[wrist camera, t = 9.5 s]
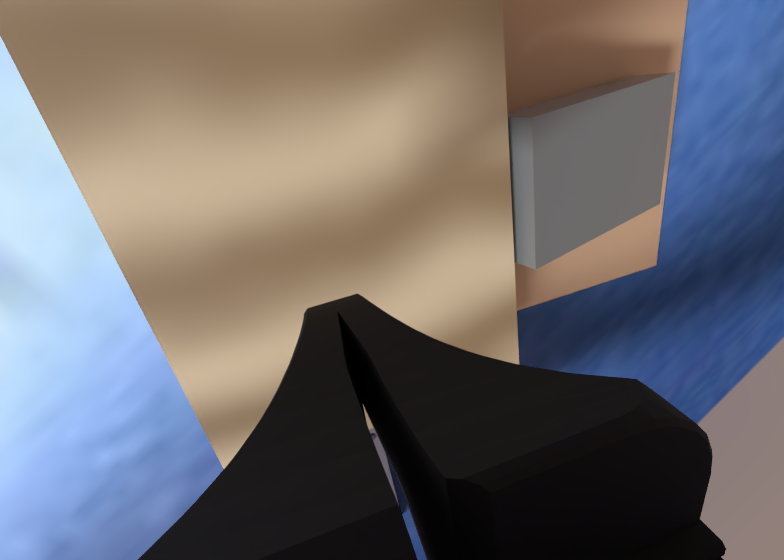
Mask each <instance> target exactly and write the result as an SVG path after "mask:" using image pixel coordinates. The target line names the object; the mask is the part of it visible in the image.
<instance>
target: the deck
mask: <svg viewBox="0 0 784 560" xmlns="http://www.w3.org/2000/svg"><path fill="white" fill-rule="evenodd" d="M0 36H1V38H2V40H3V42H4V44H5V46H6V48H7V50H8V51H9V53H10V55H11V57H12V59H13V61H14V63H15V65H16V67H17V69H18V71H19V73H20V75H21V77H22V79H23V81H24V82H25V84H26V86H27V88H28V90H29V92H30V94H31V96H32V98H33V100H34V102H35V104H36V106H37V108H38V110H39V112H40V114H41V115H42V117H43V119H44V121H45V123H46V125H47V127H48V129H49V131H50V133H51V135H52V137H53V139H54V141H55V143H56V145H57V146H58V148H59V150H60V152H61V154H62V156H63V158H64V160H65V162H66V164H67V166H68V168H69V170H70V172H71V174H72V176H73V177H74V179H75V181H76V183H77V185H78V187H79V189H80V191H81V193H82V195H83V197H84V199H85V201H86V203H87V205H88V207H89V209H90V210H91V212H92V214H93V216H94V218H95V220H96V222H97V224H98V226H99V228H100V230H101V232H102V234H103V236H104V238H105V240H106V241H107V243H108V245H109V247H110V249H111V251H112V253H113V255H114V257H115V259H116V261H117V263H118V265H119V267H120V269H121V271H122V273H123V274H124V276H125V278H126V280H127V282H128V284H129V286H130V288H131V290H132V292H133V294H134V296H135V298H136V300H137V302H138V304H139V305H140V307H141V309H142V311H143V313H144V315H145V317H146V319H147V321H148V323H149V325H150V327H151V329H152V331H153V333H154V335H155V336H156V338H157V340H158V342H159V344H160V346H161V348H162V350H163V352H164V354H165V356H166V358H167V360H168V362H169V364H170V366H171V368H172V369H173V371H174V373H175V375H176V377H177V379H178V381H179V383H180V385H181V387H182V389H183V391H184V393H185V395H186V397H187V399H188V400H189V402H190V404H191V406H192V408H193V410H194V412H195V414H196V416H197V418H198V420H199V422H200V424H201V426H202V428H203V430H204V431H205V433H206V435H207V437H208V439H209V441H210V443H211V445H212V447H213V449H214V451H215V453H216V455H217V457H218V459H219V461H220V463H221V464H222V466H223V468H224V469H225V467H226V466H227V465H228V464H229V463H230V461H231V460H232V459H233V458H234V456H235V455H236V454H237V452H238V451H239V449H240V448H241V447H242V445H243V444H244V442H245V441H246V440H247V438H248V437H249V436H250V434H251V433H252V431H253V430H254V428H255V427H256V425H257V424H258V422H259V421H260V419H261V418H262V416H263V414H264V413H265V411H266V409H267V408H268V406H269V404H270V402H271V400H272V399H273V397H274V395H275V393H276V391H277V389H278V387H279V385H280V383H281V381H282V378H283V376H284V374H285V372H286V370H287V367H288V365H289V363H290V360H291V358H292V355H293V352H294V350H295V347H296V344H297V341H298V338H299V335H300V331H301V327H302V323H303V318H304V313H305V311H306V310H307V308H310V307H313V306H317V305H320V304H324V303H327V302H330V301H334V300H337V299H340V298H344V297H347V296H351V295H354V294H357V293H358V294H359V295H361V296H363V297H364V298H366V299H367V300H368V301H370V302H371V303H373V304H374V305H376V306H377V307H379V308H380V309H382V310H383V311H385V312H386V313H388V314H389V315H391V316H392V317H394V318H396V319H398V320H399V321H401V322H403V323H404V324H406V325H408V326H410V327H412V328H413V329H415V330H417V331H419V332H422V333H424V334H426V335H428V336H430V337H432V338H434V339H437V340H439V341H442V342H444V343H447V344H450V345H452V346H455V347H458V348H461V349H463V350H466V351H469V352H472V353H476V354H479V355H482V356H486V357H490V358H494V359H498V360H502V361H506V362H510V363H514V364H519V348H518V327H517V306H516V284H515V263H514V242H513V221H512V199H511V178H510V157H509V136H508V114H507V93H506V72H505V51H504V29H503V8H502V0H0ZM363 408H364V405H363ZM364 412H365V417H366V422H367V426H368V428H369V429H372V428H374V427H373V425H372V423H371V421H370V419H369V416H368V414H367V412H366V410H365V408H364Z"/></svg>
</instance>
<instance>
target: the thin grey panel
mask: <svg viewBox="0 0 784 560" xmlns="http://www.w3.org/2000/svg"><path fill="white" fill-rule="evenodd" d="M674 81H675V72H673V73H659V74H646V75H632V76H628V77H625V78H621V79H618V80H615V81H611V82H608V83H604V84H601V85H598V86H594V87H591V88H588V89H584V90H581V91H578V92H574V93H571V94H568V95H564V96H561V97H558V98H554V99H551V100H548V101H544V102H541V103H538V104H534V105H531V106H527V107H524V108H521V109H517V110H514V111H511V112H507V114H508V136H509V157H510V178H511V199H512V221H513V242H514V262H516V263H518V264H521V265H524V266H527V267H530V268H532V269H535V270H536V269H538V268H540V267H542V266H544V265H546V264H547V263H549V262H551V261H553V260H555V259H557V258H559V257H561V256H563V255H564V254H566V253H568V252H570V251H572V250H574V249H576V248H578V247H579V246H581V245H583V244H585V243H587V242H589V241H591V240H593V239H595V238H596V237H598V236H600V235H602V234H604V233H606V232H608V231H610V230H612V229H613V228H615V227H617V226H619V225H621V224H623V223H625V222H627V221H629V220H630V219H632V218H634V217H636V216H638V215H640V214H642V213H644V212H646V211H647V210H649V209H651V208H653V207H655V206H657V205H659V204H660V200H661V192H662V183H663V175H664V166H665V158H666V149H667V141H668V132H669V123H670V115H671V106H672V98H673V89H674Z"/></svg>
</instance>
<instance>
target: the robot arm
mask: <svg viewBox="0 0 784 560" xmlns="http://www.w3.org/2000/svg"><path fill="white" fill-rule="evenodd" d="M363 405H364V408H365V410H366V412H367V414H368V416H369V419H370V421H371V423H372V425H373V427H374V428H372V429H369V428H368V426H367V422H366V417H365V412H364V408H363ZM371 433H374V434H373V435H371ZM386 455H387V457H388V460H389V462H390V464H391V466H392V468H393V470H394V472H395V475H396V477H397V479H398V481H399V484H400V486H401V488H402V491H403V493H404V496H405V498H406V501H407V504H408V507H409V509H410V512H411V515H412V518H413V521H414V524H415V526H416V529H417V532H418V535H419V538H420V541H421V544H422V546H423V549H424V552H425V555H426V558H427V560H723V559H722V558H721V556H723V555H724V554H725V550H726V548H725V546H724V544H723V542H722V541H721V540H720V539H719V538H718V537H717V536H716V535H715V534H714V533H713V532H712V531H711V530H710V529H709V528H708V527H707V526H706V525H705V524H704V523H703V522H702V521H701V520H700V516H701V512H702V507H703V503H704V499H705V495H706V491H707V487H708V483H709V479H710V475H711V466H712V449H711V446H710V443H709V439H708V436H707V434H706V433H705V432H704V431H703V430H702V429H701V428H700V427H699V426H698V425H697V424H696V423H695V422H694V421H692V420H691V419H690V418H688V417H687V416H686V415H684V414H683V413H682V412H681V411H679V410H678V409H677V408H675V407H674V406H673V405H671V404H670V403H669V402H668V401H666V400H665V399H664V398H662V397H661V396H660V395H658V394H657V393H656V392H654V391H653V390H651V389H650V388H649V387H647V386H646V385H644V384H643V383H641V382H640V381H638V380H637V379H629V378H618V377H606V376H595V375H584V374H573V373H565V372H559V371H553V370H547V369H540V368H534V367H529V366H524V365H519V364H514V363H510V362H506V361H502V360H498V359H494V358H490V357H486V356H482V355H479V354H476V353H472V352H469V351H466V350H463V349H461V348H458V347H455V346H452V345H450V344H447V343H444V342H442V341H439V340H437V339H434V338H432V337H430V336H428V335H426V334H424V333H422V332H419V331H417V330H415V329H413V328H412V327H410V326H408V325H406V324H404V323H403V322H401V321H399V320H398V319H396V318H394V317H392V316H391V315H389V314H388V313H386V312H385V311H383V310H382V309H380V308H379V307H377V306H376V305H374V304H373V303H371V302H370V301H368V300H367V299H366V298H364V297H363V296H361V295H359V294H358V293H357V294H354V295H351V296H347V297H344V298H340V299H337V300H334V301H330V302H327V303H324V304H320V305H317V306H313V307H310V308H307V310H306V311H305V313H304V318H303V323H302V327H301V331H300V335H299V338H298V341H297V344H296V347H295V350H294V352H293V355H292V358H291V360H290V363H289V365H288V367H287V370H286V372H285V374H284V376H283V378H282V381H281V383H280V385H279V387H278V389H277V391H276V393H275V395H274V397H273V399H272V400H271V402H270V404H269V406H268V408H267V409H266V411H265V413H264V414H263V416H262V418H261V419H260V421H259V422H258V424H257V425H256V427H255V428H254V430H253V431H252V433H251V434H250V436H249V437H248V438H247V440H246V441H245V442H244V444H243V445H242V447H241V448H240V449H239V451H238V452H237V454H236V455H235V456H234V458H233V459H232V460H231V461H230V463H229V464H228V465H227V466H226V467H225V469H224V470H223V471H222V472H221V473H220V475H219V476H218V477H217V478H216V479H215V481H214V482H213V483H212V484H211V485H210V486H209V487H208V488H207V490H206V491H205V492H204V493H203V494H202V495H201V496H200V497H199V499H198V500H197V501H196V502H195V503H194V504H193V505H192V506H191V507H190V508H189V509H188V510H187V511H186V513H185V514H184V515H183V516H182V517H181V518H180V519H179V520H178V521H177V522H176V523H175V524H174V525H173V526H172V527H171V528H170V529H169V530H168V531H167V532H166V533H165V534H164V535H162V536H161V537H160V538H159V539H158V540H157V541H156V542H155V543H154V544H153V545H152V546H151V547H150V548H149V549H148V550H147V551H146V552H145V553H144V554H143V555H142V556H141V557H140V558H139V559H138V560H417V557H416V554H415V551H414V548H413V545H412V542H411V539H410V536H409V533H408V531H407V528H406V525H405V522H404V519H403V516H402V513H401V510H400V508H399V504H398V500H397V496H396V492H395V488H394V484H393V481H392V477H391V473H390V469H389V465H388V461H387V457H386Z"/></svg>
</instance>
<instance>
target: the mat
mask: <svg viewBox="0 0 784 560" xmlns="http://www.w3.org/2000/svg"><path fill="white" fill-rule="evenodd" d="M687 6H688V0H502V8H503V29H504V51H505V72H506V93H507V112H511V111H514V110H517V109H521V108H524V107H527V106H531V105H534V104H538V103H541V102H544V101H548V100H551V99H554V98H558V97H561V96H564V95H568V94H571V93H574V92H578V91H581V90H584V89H588V88H591V87H594V86H598V85H601V84H604V83H608V82H611V81H615V80H618V79H621V78H625V77H628V76H632V75H646V74H659V73H673V72H675V81H674V89H673V98H672V106H671V115H670V123H669V132H668V141H667V149H666V158H665V166H664V175H663V183H662V192H661V200H660V204H659V205H657V206H655V207H653V208H651V209H649V210H647V211H646V212H644V213H642V214H640V215H638V216H636V217H634V218H632V219H630V220H629V221H627V222H625V223H623V224H621V225H619V226H617V227H615V228H613V229H612V230H610V231H608V232H606V233H604V234H602V235H600V236H598V237H596V238H595V239H593V240H591V241H589V242H587V243H585V244H583V245H581V246H579V247H578V248H576V249H574V250H572V251H570V252H568V253H566V254H564V255H563V256H561V257H559V258H557V259H555V260H553V261H551V262H549V263H547V264H546V265H544V266H542V267H540V268H538V269H536V270H535V269H532V268H530V267H527V266H524V265H521V264H518V263H516V262H514V263H515V284H516V306H517V311H518V310H521V309H524V308H527V307H530V306H533V305H537V304H540V303H543V302H546V301H549V300H552V299H555V298H558V297H561V296H564V295H567V294H570V293H573V292H576V291H579V290H583V289H586V288H589V287H592V286H595V285H598V284H601V283H604V282H607V281H610V280H613V279H616V278H619V277H622V276H625V275H629V274H632V273H635V272H638V271H641V270H644V269H647V268H650V267H653V266H656V263H657V255H658V246H659V238H660V230H661V221H662V213H663V205H664V197H665V188H666V180H667V172H668V163H669V155H670V147H671V139H672V130H673V122H674V114H675V105H676V97H677V89H678V81H679V72H680V64H681V56H682V47H683V39H684V31H685V23H686V14H687Z"/></svg>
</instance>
